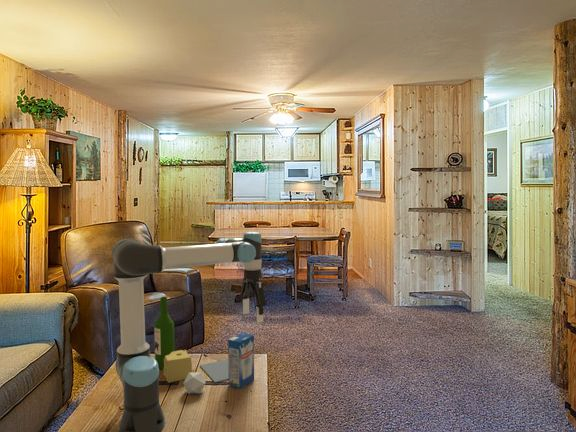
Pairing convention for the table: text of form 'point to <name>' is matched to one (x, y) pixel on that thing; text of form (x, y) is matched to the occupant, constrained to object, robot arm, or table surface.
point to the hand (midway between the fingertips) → (252, 317)
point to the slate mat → (217, 370)
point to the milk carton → (241, 360)
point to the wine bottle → (163, 334)
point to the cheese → (177, 366)
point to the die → (194, 383)
